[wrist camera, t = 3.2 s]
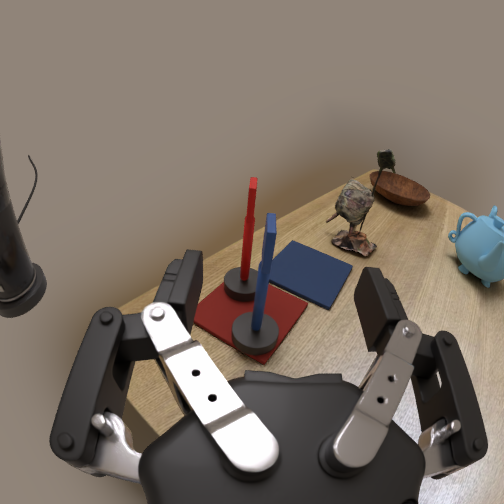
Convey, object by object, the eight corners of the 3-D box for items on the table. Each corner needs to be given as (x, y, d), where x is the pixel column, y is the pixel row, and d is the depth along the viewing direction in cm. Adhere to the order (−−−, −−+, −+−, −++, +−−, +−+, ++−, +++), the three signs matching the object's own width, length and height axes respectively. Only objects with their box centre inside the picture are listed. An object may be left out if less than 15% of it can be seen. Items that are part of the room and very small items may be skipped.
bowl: (355, 193, 76) (359, 177, 73) (379, 180, 90) (383, 167, 87) (417, 223, 66) (423, 207, 63) (430, 203, 80) (434, 190, 77)
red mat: (185, 317, 36) (185, 314, 36) (237, 272, 45) (238, 269, 44) (264, 365, 32) (264, 362, 31) (307, 305, 40) (308, 302, 40)
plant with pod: (339, 224, 61) (360, 135, 49) (381, 250, 54) (411, 156, 42) (315, 233, 56) (336, 135, 45) (360, 264, 49) (393, 158, 38)
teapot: (475, 249, 59) (496, 204, 51) (513, 299, 43) (542, 249, 35) (435, 243, 59) (456, 192, 50) (474, 300, 43) (507, 241, 35)
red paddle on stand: (221, 299, 39) (225, 190, 30) (226, 273, 43) (231, 171, 34) (262, 303, 39) (279, 195, 30) (263, 277, 43) (277, 176, 34)
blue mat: (257, 276, 44) (258, 273, 44) (291, 242, 53) (292, 240, 53) (328, 310, 40) (329, 307, 39) (352, 268, 48) (353, 265, 48)
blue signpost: (229, 353, 32) (236, 236, 23) (233, 317, 36) (241, 204, 27) (277, 357, 32) (306, 243, 23) (276, 321, 36) (300, 210, 27)
